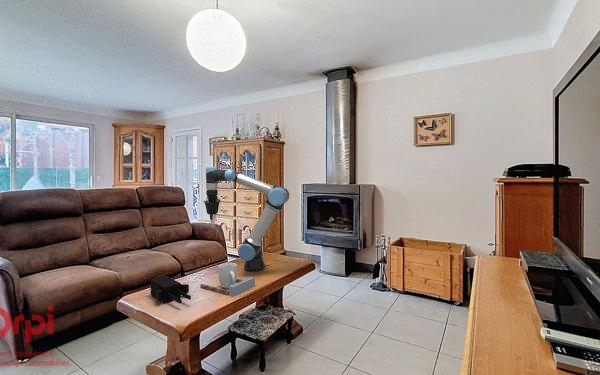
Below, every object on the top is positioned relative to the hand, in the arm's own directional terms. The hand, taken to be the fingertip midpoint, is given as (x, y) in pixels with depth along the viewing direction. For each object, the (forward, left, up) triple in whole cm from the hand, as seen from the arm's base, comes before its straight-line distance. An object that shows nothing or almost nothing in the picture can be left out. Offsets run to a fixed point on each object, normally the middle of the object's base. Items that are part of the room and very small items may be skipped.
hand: (212, 224), depth 202 cm
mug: (-10, +29, -35) cm, 46 cm away
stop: (-18, +37, -34) cm, 54 cm away
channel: (-8, +27, -34) cm, 45 cm away
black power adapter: (+20, +41, -35) cm, 57 cm away
